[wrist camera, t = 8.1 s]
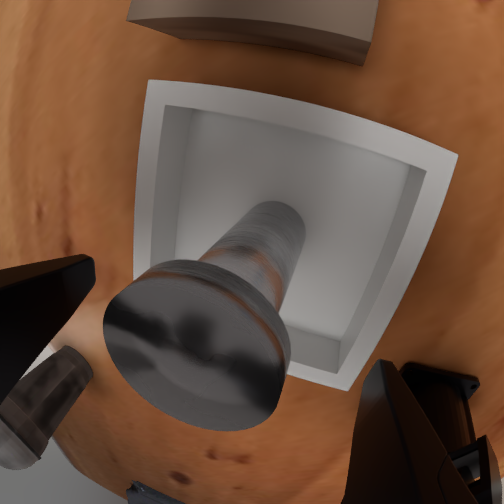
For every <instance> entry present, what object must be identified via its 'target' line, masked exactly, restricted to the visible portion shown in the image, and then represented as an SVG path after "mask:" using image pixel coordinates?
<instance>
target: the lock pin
mask: <svg viewBox="0 0 504 504" xmlns="http://www.w3.org/2000/svg"><path fill="white" fill-rule="evenodd" d="M305 238H306V229H305V225H304V222H303V220H302V218H301V216H300V215H299V213H298V212H297V211H296V210H295V209H294V208H292V207H291V206H289V205H287V204H285V203H283V202H279V201H265V202H262V203H259V204H257V205H255V206H254V207H253V208H252V209H251V210H249V211H248V212H247V213H246V214H245V215H244V216H243V217H242V218H241V219H240V220H239V221H238V222H237V223H236V224H235V225H234V226H233V227H231V228H230V229H229V230H228V231H227V232H226V233H225V234H224V235H223V236H222V237H221V238H220V239H219V240H218V241H217V242H216V243H215V244H214V245H213V246H212V247H211V248H210V249H209V250H208V251H206V252H205V253H204V254H203V255H202V256H201V257H200V258H199V259H198V260H197V261H196V260H182V259H178V260H170V261H166V262H162V263H159V264H157V265H155V266H153V267H151V268H149V269H148V270H147V271H145V272H144V273H143V274H142V275H140V276H139V277H138V278H137V279H136V280H134V281H133V282H132V283H131V284H129V285H128V286H127V287H126V288H125V289H123V290H122V291H121V292H120V293H119V294H117V295H116V296H115V297H114V298H113V299H112V300H111V302H110V303H109V304H108V306H107V308H106V311H105V314H104V318H103V334H104V339H105V343H106V346H107V349H108V352H109V354H110V356H111V358H112V360H113V362H114V364H115V366H116V367H117V369H118V370H119V372H120V373H121V375H122V376H123V377H124V378H125V380H126V381H127V382H128V383H129V384H130V385H131V386H132V388H133V389H134V390H135V391H136V392H138V393H139V394H140V395H141V396H142V397H143V398H144V399H146V400H147V401H148V402H149V403H151V404H152V405H153V406H155V407H156V408H158V409H159V410H161V411H163V412H164V413H166V414H168V415H170V416H172V417H174V418H176V419H178V420H180V421H182V422H185V423H187V424H190V425H193V426H197V427H200V428H205V429H209V430H216V431H238V430H244V429H248V428H251V427H254V426H256V425H259V424H261V423H262V422H263V421H265V420H266V419H268V418H269V416H270V415H271V414H272V413H273V412H274V410H275V408H276V407H277V404H278V401H279V398H280V395H281V391H282V388H283V385H284V381H285V378H286V374H287V371H288V368H289V364H290V358H291V344H290V339H289V335H288V332H287V330H286V327H285V325H284V322H283V321H282V319H281V317H280V315H279V311H280V309H281V306H282V303H283V301H284V298H285V295H286V292H287V290H288V287H289V284H290V282H291V279H292V276H293V273H294V270H295V268H296V265H297V262H298V259H299V256H300V254H301V251H302V248H303V245H304V242H305Z"/></svg>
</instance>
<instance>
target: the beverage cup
mask: <svg viewBox="0 0 504 504" xmlns="http://www.w3.org/2000/svg"><path fill="white" fill-rule="evenodd" d="M92 376H93V372H92V370H91V367H90V366H89V364H88V363H87V361H86V360H85V359H84V358H83V357H82V356H81V355H80V354H79V353H78V352H77V351H76V350H74V349H73V348H71V347H69V346H64V347H63V348H62V349H61V350H59V351H57V352H56V353H54V354H52V355H51V356H50V357H48V358H47V359H46V360H44V361H43V362H42V363H41V364H39V365H38V366H37V367H36V368H34V369H33V370H32V371H31V372H29V373H28V374H27V375H25V376H24V377H23V378H22V379H20V380H19V381H18V382H17V384H16V385H15V386H14V388H13V389H12V390H11V392H10V393H9V394H8V396H7V397H6V398H5V400H4V401H3V402H2V403H1V405H0V466H2V467H4V468H8V469H12V470H21V469H25V468H28V467H30V466H31V465H33V464H34V463H35V462H36V461H37V460H40V459H41V457H40V456H41V455H42V453H43V452H44V450H45V448H46V446H47V444H48V440H49V439H50V437H51V436H52V434H53V433H54V431H55V430H56V428H57V427H58V425H59V424H60V423H61V421H62V420H63V418H64V417H65V415H66V414H67V412H68V411H69V410H70V408H71V407H72V405H73V404H74V403H75V401H76V400H77V398H78V397H79V396H80V394H81V393H82V391H83V390H84V389H85V387H86V385H87V383H88V382H89V380H90V379H91V378H92Z"/></svg>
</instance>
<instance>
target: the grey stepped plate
mask: <svg viewBox="0 0 504 504" xmlns="http://www.w3.org/2000/svg"><path fill="white" fill-rule="evenodd" d="M132 481H133V480H132ZM133 484H134V485H132V486H131V487H130V488H129V489H127V490H126V494H127V497H128V504H185V503H183V502H181V501H178V500H176V499H174V498H171V497H169V496H167V495H165V494H163V493H160V492H158V491H156V490H154V489H152V488H150V487H148V486H146V485H144V484H142V483H140V482H138V481H137V482H135V481H133Z"/></svg>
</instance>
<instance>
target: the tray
mask: <svg viewBox="0 0 504 504" xmlns="http://www.w3.org/2000/svg"><path fill="white" fill-rule="evenodd" d="M457 158H458V154H456V153H453V152H451V151H449V150H447V149H444V148H442V147H440V146H437V145H435V144H433V143H430V142H428V141H425V140H423V139H420V138H418V137H415V136H413V135H410V134H408V133H405V132H402V131H400V130H397V129H394V128H391V127H388V126H386V125H383V124H380V123H377V122H374V121H371V120H368V119H364V118H361V117H358V116H355V115H351V114H348V113H345V112H341V111H338V110H334V109H330V108H327V107H323V106H319V105H315V104H311V103H307V102H303V101H299V100H294V99H290V98H285V97H280V96H275V95H270V94H265V93H260V92H254V91H249V90H243V89H236V88H230V87H223V86H215V85H207V84H198V83H189V82H178V81H164V80H148V86H147V92H146V99H145V106H144V113H143V120H142V128H141V136H140V146H139V155H138V166H137V179H136V194H135V213H134V248H133V276H134V280H136V279H137V278H138V277H139V276H140V275H142V274H143V273H144V272H145V271H147V270H148V269H149V268H151V267H153V266H155V265H157V264H159V263H162V262H166V261H170V260H178V259H182V260H196V261H197V260H198V259H199V258H200V257H201V256H202V255H203V254H204V253H205V252H206V251H208V250H209V249H210V248H211V247H212V246H213V245H214V244H215V243H216V242H217V241H218V240H219V239H220V238H221V237H222V236H223V235H224V234H225V233H226V232H227V231H228V230H229V229H230V228H231V227H233V226H234V225H235V224H236V223H237V222H238V221H239V220H240V219H241V218H242V217H243V216H244V215H245V214H246V213H247V212H248V211H249V210H251V209H252V208H253V207H254V206H255V205H257V204H259V203H262V202H265V201H279V202H283V203H285V204H287V205H289V206H291V207H292V208H294V209H295V210H296V211H297V212H298V213H299V215H300V216H301V218H302V220H303V222H304V225H305V229H306V238H305V242H304V245H303V248H302V251H301V254H300V256H299V259H298V262H297V265H296V268H295V270H294V273H293V276H292V279H291V282H290V284H289V287H288V290H287V292H286V295H285V298H284V301H283V303H282V306H281V309H280V311H279V315H280V317H281V319H282V321H283V322H284V325H285V327H286V330H287V332H288V335H289V339H290V344H291V358H290V364H289V368H288V371H287V374H288V375H291V376H295V377H298V378H301V379H305V380H308V381H311V382H315V383H318V384H322V385H326V386H329V387H333V388H337V389H340V390H344V391H348V390H349V389H350V387H351V386H352V384H353V383H354V381H355V379H356V378H357V376H358V375H359V373H360V372H361V370H362V368H363V367H364V365H365V364H366V362H367V360H368V359H369V357H370V355H371V354H372V352H373V350H374V349H375V347H376V345H377V343H378V342H379V340H380V338H381V336H382V335H383V333H384V331H385V329H386V327H387V326H388V324H389V322H390V320H391V318H392V316H393V315H394V313H395V311H396V309H397V307H398V305H399V303H400V301H401V299H402V297H403V295H404V293H405V291H406V289H407V287H408V285H409V283H410V281H411V279H412V276H413V274H414V272H415V270H416V268H417V266H418V263H419V261H420V259H421V257H422V254H423V252H424V250H425V247H426V245H427V243H428V240H429V238H430V235H431V233H432V230H433V228H434V225H435V223H436V220H437V218H438V215H439V212H440V210H441V207H442V204H443V201H444V199H445V196H446V193H447V190H448V187H449V184H450V181H451V178H452V175H453V171H454V168H455V165H456V162H457Z"/></svg>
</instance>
